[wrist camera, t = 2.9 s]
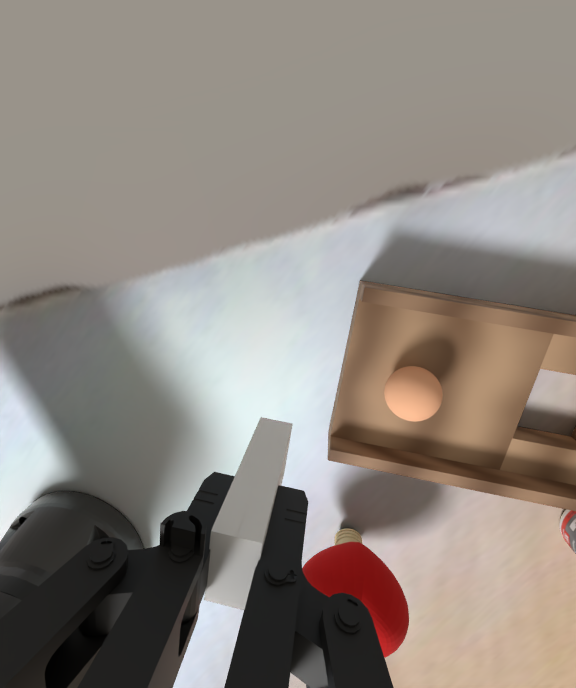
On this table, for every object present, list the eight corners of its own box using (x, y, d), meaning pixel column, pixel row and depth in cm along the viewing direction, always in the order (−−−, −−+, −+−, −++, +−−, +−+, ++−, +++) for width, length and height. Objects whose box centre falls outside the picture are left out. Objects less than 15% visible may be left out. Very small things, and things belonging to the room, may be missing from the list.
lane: (328, 430, 32) (327, 460, 28) (360, 280, 28) (364, 287, 23) (600, 485, 30) (645, 525, 26) (679, 332, 26) (747, 350, 21)
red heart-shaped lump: (404, 519, 33) (432, 629, 24) (381, 571, 36) (398, 690, 26) (312, 491, 34) (304, 588, 24) (295, 544, 36) (281, 652, 27)
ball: (376, 400, 28) (382, 425, 24) (387, 354, 26) (396, 373, 23) (426, 410, 27) (440, 437, 24) (439, 363, 26) (458, 384, 22)
